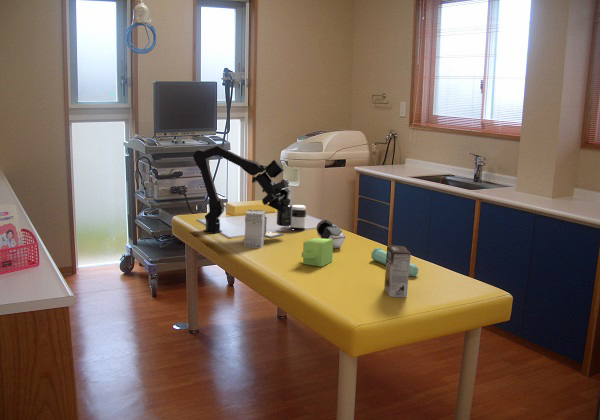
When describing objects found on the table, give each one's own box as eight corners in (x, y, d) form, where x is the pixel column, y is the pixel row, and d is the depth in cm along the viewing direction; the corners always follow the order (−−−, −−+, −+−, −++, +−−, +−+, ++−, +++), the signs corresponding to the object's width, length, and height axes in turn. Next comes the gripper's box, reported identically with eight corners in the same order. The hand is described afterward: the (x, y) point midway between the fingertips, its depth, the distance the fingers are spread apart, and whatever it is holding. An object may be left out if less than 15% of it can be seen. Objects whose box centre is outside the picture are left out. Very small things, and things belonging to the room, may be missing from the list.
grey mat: (256, 234, 295) (256, 233, 295) (269, 231, 301) (269, 230, 301) (270, 238, 289) (270, 237, 289) (283, 235, 296) (283, 234, 296)
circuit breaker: (266, 240, 285) (267, 208, 282) (261, 248, 271) (262, 214, 268) (250, 239, 285) (251, 206, 282) (244, 246, 271) (245, 213, 269)
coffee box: (383, 288, 224) (386, 245, 221) (401, 288, 224) (404, 245, 221) (389, 297, 215) (392, 251, 212) (407, 297, 216) (411, 252, 212)
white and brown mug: (305, 231, 305) (306, 208, 302) (282, 230, 305) (283, 207, 302) (305, 226, 316) (306, 203, 314) (283, 225, 316) (284, 202, 314)
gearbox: (315, 256, 264) (315, 234, 262) (336, 259, 259) (337, 236, 258) (295, 265, 248) (296, 242, 246) (318, 268, 243) (318, 245, 242)
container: (419, 262, 239) (380, 245, 260) (407, 269, 237) (369, 251, 258) (422, 275, 241) (383, 257, 262) (411, 282, 239) (372, 263, 260)
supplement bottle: (293, 224, 290) (295, 199, 288) (287, 227, 284) (288, 201, 282) (280, 222, 293) (281, 197, 291) (274, 225, 287) (275, 199, 285)
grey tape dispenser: (311, 237, 295) (312, 216, 293) (331, 237, 297) (332, 216, 295) (324, 251, 271) (325, 229, 269) (346, 251, 273) (347, 229, 271)
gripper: (269, 175, 277) (290, 203, 275) (287, 171, 294) (307, 197, 292) (253, 191, 282) (273, 218, 280) (271, 186, 299) (291, 211, 296)
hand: (287, 211), depth 287 cm, fingers closed on supplement bottle, 7 cm apart
